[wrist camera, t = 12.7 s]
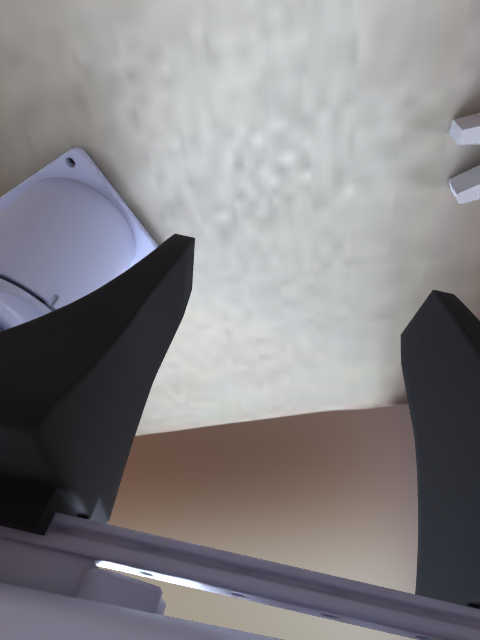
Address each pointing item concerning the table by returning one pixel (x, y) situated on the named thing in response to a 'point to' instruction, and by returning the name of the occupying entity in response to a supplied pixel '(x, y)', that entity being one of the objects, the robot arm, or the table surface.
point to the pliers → (475, 180)
